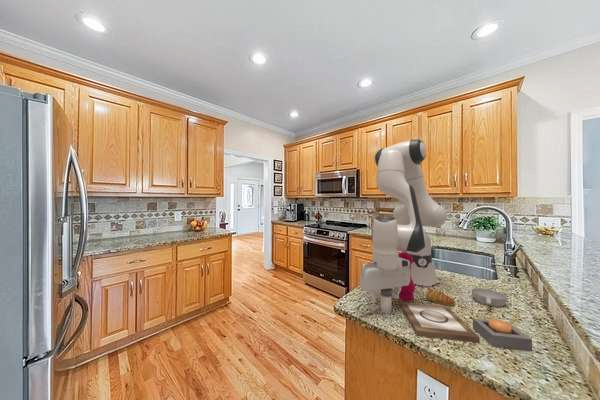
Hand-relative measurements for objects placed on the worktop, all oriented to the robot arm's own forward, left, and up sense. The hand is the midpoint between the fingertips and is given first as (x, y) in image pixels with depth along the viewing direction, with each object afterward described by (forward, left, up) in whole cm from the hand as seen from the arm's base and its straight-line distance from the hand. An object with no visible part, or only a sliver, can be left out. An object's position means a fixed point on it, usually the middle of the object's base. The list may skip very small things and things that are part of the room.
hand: (385, 300), depth 77 cm
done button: (+10, +29, -2) cm, 31 cm away
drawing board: (+4, +14, -4) cm, 15 cm away
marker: (0, 0, -4) cm, 4 cm away
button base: (+10, +29, -4) cm, 31 cm away
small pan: (-14, +40, -4) cm, 43 cm away
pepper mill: (-14, +10, -4) cm, 18 cm away
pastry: (-14, +23, -5) cm, 27 cm away
